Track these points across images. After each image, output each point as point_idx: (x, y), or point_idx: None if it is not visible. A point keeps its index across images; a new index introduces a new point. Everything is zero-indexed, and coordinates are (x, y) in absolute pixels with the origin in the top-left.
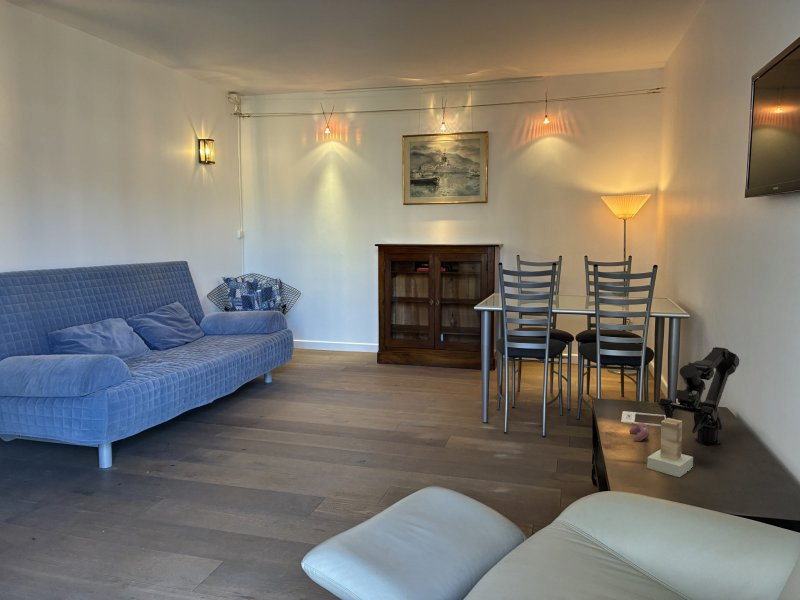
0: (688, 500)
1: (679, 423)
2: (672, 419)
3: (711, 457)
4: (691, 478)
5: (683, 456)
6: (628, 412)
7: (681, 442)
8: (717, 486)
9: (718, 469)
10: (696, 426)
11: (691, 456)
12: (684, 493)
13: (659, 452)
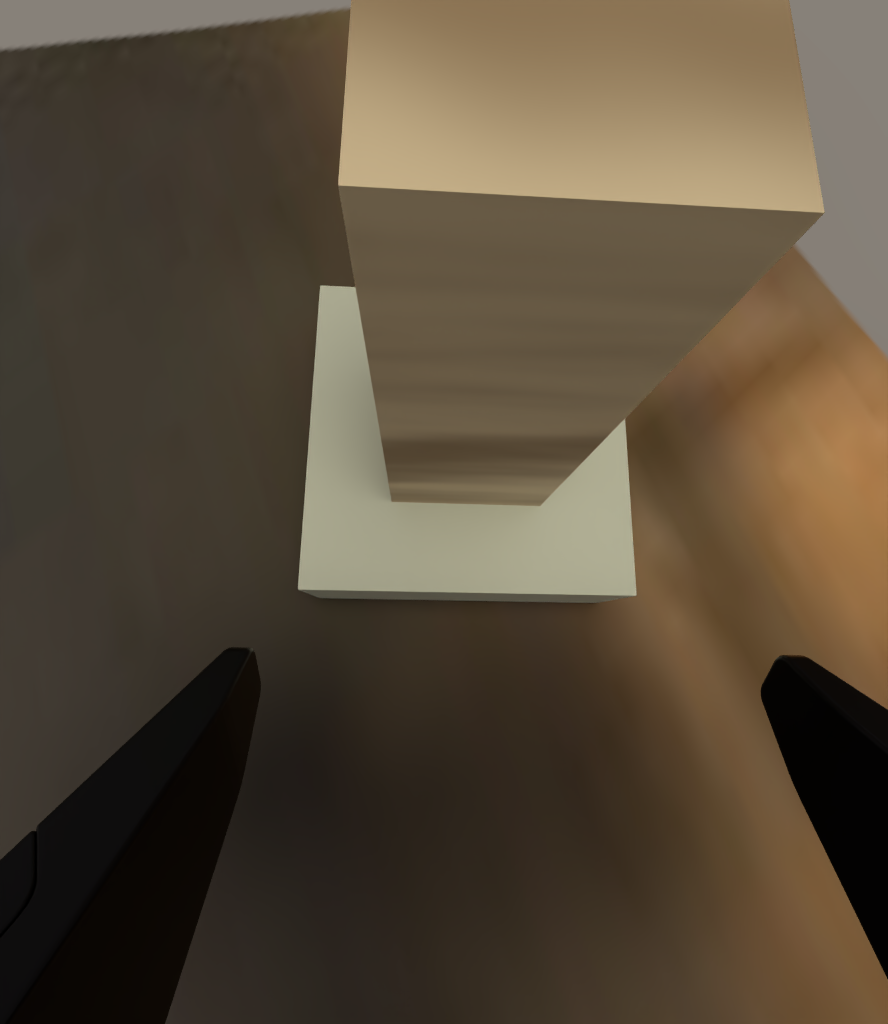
0: (176, 68)
1: (353, 44)
2: (636, 155)
3: (256, 1020)
4: (260, 384)
5: (377, 529)
6: None
7: (382, 445)
8: (63, 369)
9: (125, 724)
10: (128, 747)
11: (313, 586)
12: (225, 137)
13: (596, 474)
